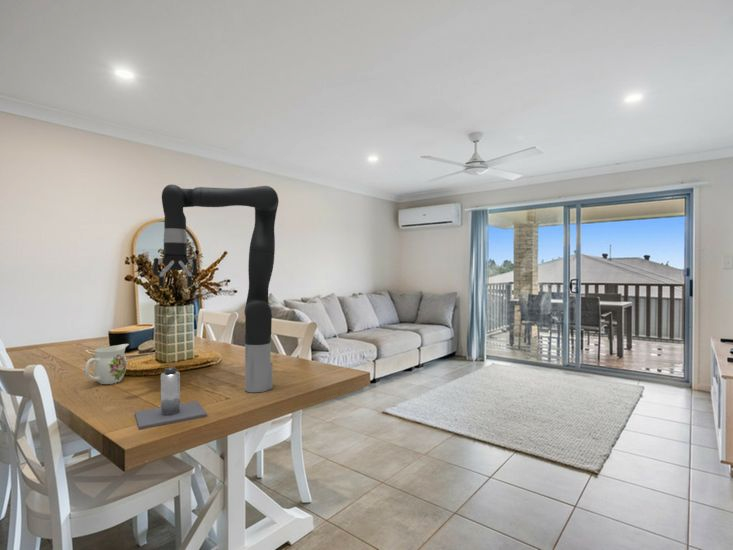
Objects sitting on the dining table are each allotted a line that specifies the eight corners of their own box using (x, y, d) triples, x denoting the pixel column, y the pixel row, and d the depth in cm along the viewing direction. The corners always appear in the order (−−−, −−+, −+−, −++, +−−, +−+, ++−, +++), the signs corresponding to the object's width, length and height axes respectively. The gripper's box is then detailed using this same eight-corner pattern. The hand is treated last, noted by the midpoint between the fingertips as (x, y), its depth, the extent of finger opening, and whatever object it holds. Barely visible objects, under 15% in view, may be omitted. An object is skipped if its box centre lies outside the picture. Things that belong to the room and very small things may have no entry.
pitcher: (74, 388, 149) (74, 351, 148) (118, 375, 166) (118, 343, 166) (96, 391, 145) (96, 353, 145) (138, 378, 162) (138, 344, 162)
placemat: (197, 403, 133) (197, 400, 133) (206, 416, 121) (206, 413, 121) (134, 414, 123) (134, 411, 123) (138, 429, 111) (138, 426, 111)
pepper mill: (178, 408, 125) (178, 365, 125) (181, 413, 121) (181, 368, 121) (160, 411, 123) (159, 367, 122) (162, 416, 118) (161, 371, 118)
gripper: (154, 240, 136) (154, 288, 136) (198, 242, 144) (198, 287, 144) (151, 241, 142) (152, 287, 142) (194, 243, 150) (194, 286, 150)
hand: (175, 287), depth 143 cm, fingers open, 8 cm apart
